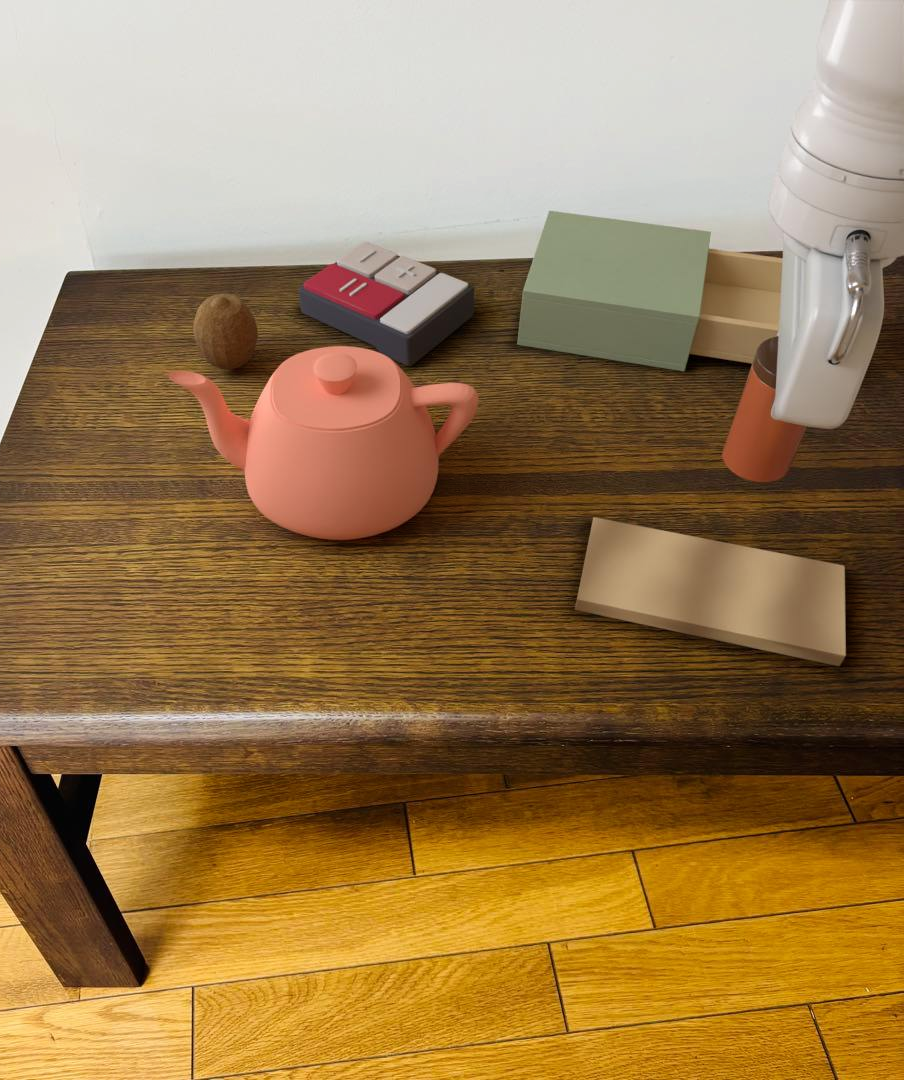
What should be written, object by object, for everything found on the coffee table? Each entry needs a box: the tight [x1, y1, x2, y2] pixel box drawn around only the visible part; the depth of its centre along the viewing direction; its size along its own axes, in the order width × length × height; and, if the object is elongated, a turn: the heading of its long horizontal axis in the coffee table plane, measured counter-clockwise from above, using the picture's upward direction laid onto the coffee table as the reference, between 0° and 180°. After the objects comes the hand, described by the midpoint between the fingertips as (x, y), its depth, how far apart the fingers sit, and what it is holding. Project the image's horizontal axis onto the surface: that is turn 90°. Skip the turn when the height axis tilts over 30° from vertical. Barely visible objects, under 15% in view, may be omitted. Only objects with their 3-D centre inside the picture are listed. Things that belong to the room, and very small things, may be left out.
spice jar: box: [721, 336, 808, 483], centre depth 66 cm, size 5×5×9 cm
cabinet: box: [516, 210, 712, 372], centre depth 101 cm, size 17×15×7 cm
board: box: [574, 516, 847, 667], centre depth 80 cm, size 20×9×2 cm, turn 73°
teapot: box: [167, 345, 480, 541], centre depth 84 cm, size 25×17×13 cm
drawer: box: [689, 248, 783, 364], centre depth 98 cm, size 20×13×5 cm
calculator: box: [298, 240, 475, 367], centre depth 104 cm, size 11×4×15 cm
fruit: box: [192, 293, 259, 370], centre depth 98 cm, size 6×6×8 cm
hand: (785, 383), depth 65 cm, fingers closed on spice jar, 4 cm apart
